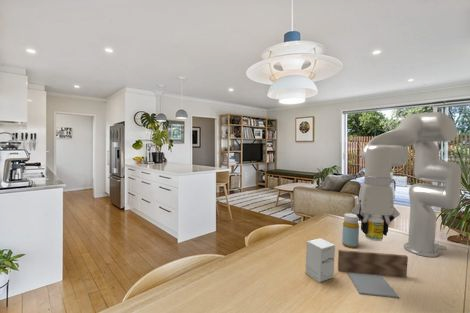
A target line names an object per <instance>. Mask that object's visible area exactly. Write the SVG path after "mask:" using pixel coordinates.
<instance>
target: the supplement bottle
mask: <svg viewBox="0 0 470 313" xmlns="http://www.w3.org/2000/svg"><path fill="white" fill-rule="evenodd" d="M367 223H368V234H365V233H364V235H365V238H366V239H367V240H370V241H373V242H382V241H383V238H384V235H383V227H384V220H383V218H382V215H378V214H377V215H369V217H368V219H367Z"/></svg>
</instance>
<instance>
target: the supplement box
mask: <svg viewBox="0 0 470 313" xmlns="http://www.w3.org/2000/svg"><path fill="white" fill-rule="evenodd" d="M305 248H306V250H305V252H306V253H305V273H306V274H307V275H308V276H309V277H311V278H312V279H314V280H315V281H317V282H318V283H322V282H324V281H326V280H330V279H332V278H334V273H335V270H334V269H335V254H336V253H335V251H336V244H334V243H332V242H329V241H328V240H325V239H323V238H321V237H319V238H316V239H312V240H307V241H306V247H305Z"/></svg>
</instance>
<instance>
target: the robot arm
mask: <svg viewBox="0 0 470 313" xmlns="http://www.w3.org/2000/svg"><path fill="white" fill-rule="evenodd" d="M457 133H458V128H457V124H456V123H455V121H453V119H452V118H451V117H450V116H449V115H447V114H446V113H444V112H441V111H433V112H419V113H411V114H409V115H407V116H405V117H404V118H403V120H401V122H400V123H398V125H397V126H396V127H395V128H393V129H392V130H389V131H387V132H384V133H381V134H379V135H376V136H374V137H373V138H372V139H370V140H368V142H367V143H366V144H365V145H364V147H363V149H362V150H361V151H362V152H361V159H362V161H363V162H364V163H365V165H364V180H363V181H364V182H363V183H361V185H360V189H359V192H358V193H359V194H358V197H357V198H358V199H357V204H356V205H355V206H354V207H353V208H351V212H352V214H355V215H356V216H357V217H358V220H360V230H361V231H362V233H363V234H364V235H365V234H368V223H367V219H368V217H369V215H377V214H378V215H382V216H381V218H383V220H384V227H383V236H385V237H386V236H387V235H388V234H387V233H388V232H389V225H390V224H391V222H392V221H394V220H395V219H396V218H398V217H399V216H400V215H401V214H400V212H399V211H398V210H397V208H396V207H395V205H394V204H395V203H394V202H395V200H394V192H393V188H392V187H393V186H391V184H392V183H395V179H394V178H392V177H391V173H392V172H391V169H392V167H396V168H398V167H399V168H400V167H402V166H405V165H406V163H407V162H408V160H409V157H410V153H409V151H408V149H407V148H408V147H411V146H413V149H414V166H413V167H414V168H413V174H414V177H415V179H417V180H419V181H423V182H432V183H439V184H444V185H438V184H429V183H423V182H422V183H419V182H417V183H414V184H412V185H410V186H409V188H408V197H409V209H410V210H409V226H408V242H406V243H404V244H403V248H404V249H405V250H406V251H408V252H410V253H412V254H414V255H418V256H422V257H426V258H428V257H429V258H436V257H438V256H439V250H442V251H446V250H447V246H446V245H444V244H443V245H441V244H439V243H437V242H435V239H436V228H437V227H436V225H437V215H436V212H435V210H434V209H433V208H432V207H434V208H435V207H436V208H441V209H446V210H455V209H457V208H458V206H459V205H460V201H461V199H460V198H461V185H462V183H461V182H462V169H461V167H460V166H461V165H459V164H458V163H456V162H453V161H446V160H445V161H444V160H439V158H440V155H439V154H440V150H439V148H438V146H437V144H435V142H439V143H441V142H442V143H444V142H451V141H453V140H454V139H455V138H456V137H457ZM359 212H361V213H359Z"/></svg>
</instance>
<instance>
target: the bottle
mask: <svg viewBox="0 0 470 313" xmlns="http://www.w3.org/2000/svg"><path fill="white" fill-rule="evenodd" d="M343 215H344V218H343V222H342V238H341V239H342V240H341V241H342V245H343V246H345V247H347V248H350V249H356V248H357V247H359V235H360V234H359V233H360V225H359V218H358V217H357V216H356V215H355V214H354V213H350V212H349V213H348V212H346V213H344V214H343Z"/></svg>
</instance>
